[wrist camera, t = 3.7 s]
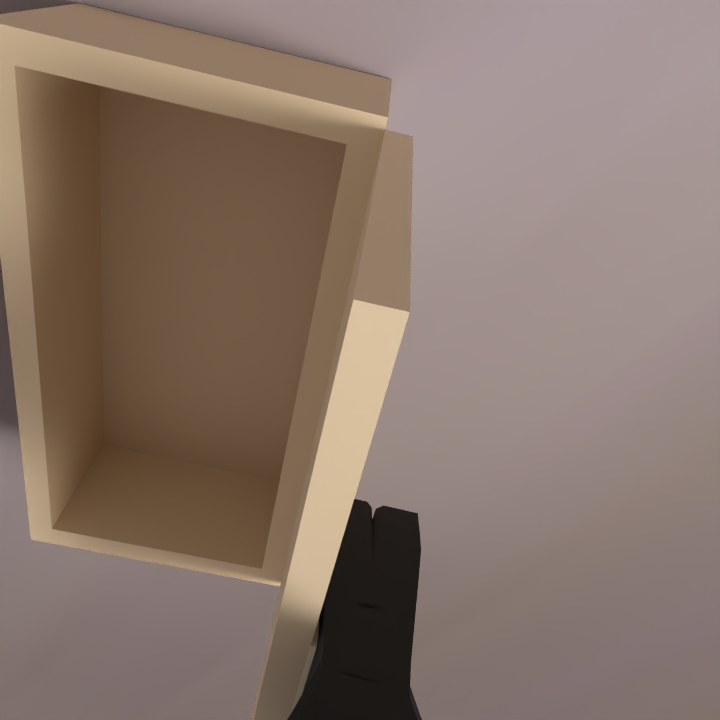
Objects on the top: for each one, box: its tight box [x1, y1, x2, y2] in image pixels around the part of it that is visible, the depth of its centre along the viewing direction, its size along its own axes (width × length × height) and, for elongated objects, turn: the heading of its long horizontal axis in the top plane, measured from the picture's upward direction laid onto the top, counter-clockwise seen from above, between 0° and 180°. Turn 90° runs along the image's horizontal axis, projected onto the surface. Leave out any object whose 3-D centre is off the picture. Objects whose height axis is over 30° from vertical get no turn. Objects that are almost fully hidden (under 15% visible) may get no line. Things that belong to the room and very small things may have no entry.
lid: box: [251, 130, 413, 720], centre depth 12 cm, size 13×6×1 cm
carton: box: [0, 3, 391, 586], centre depth 16 cm, size 13×7×4 cm, turn 168°
